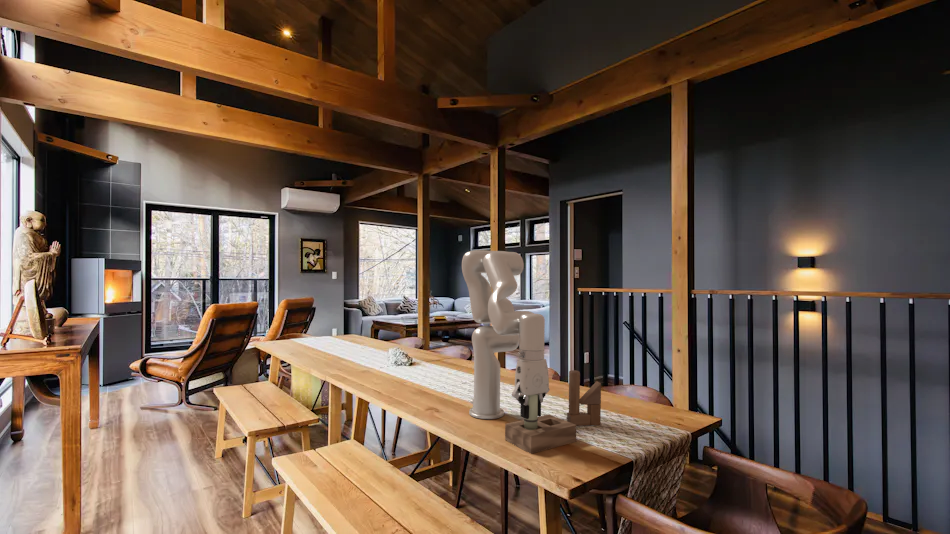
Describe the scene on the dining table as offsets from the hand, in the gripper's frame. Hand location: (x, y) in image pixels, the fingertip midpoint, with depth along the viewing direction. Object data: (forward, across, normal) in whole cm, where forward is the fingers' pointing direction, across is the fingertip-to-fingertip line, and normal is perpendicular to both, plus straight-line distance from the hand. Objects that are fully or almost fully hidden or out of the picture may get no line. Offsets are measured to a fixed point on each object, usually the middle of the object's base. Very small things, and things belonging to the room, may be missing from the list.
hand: (530, 415), depth 134 cm
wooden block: (+8, +27, +4) cm, 29 cm away
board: (+8, +4, 0) cm, 9 cm away
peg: (+5, 0, 0) cm, 5 cm away
